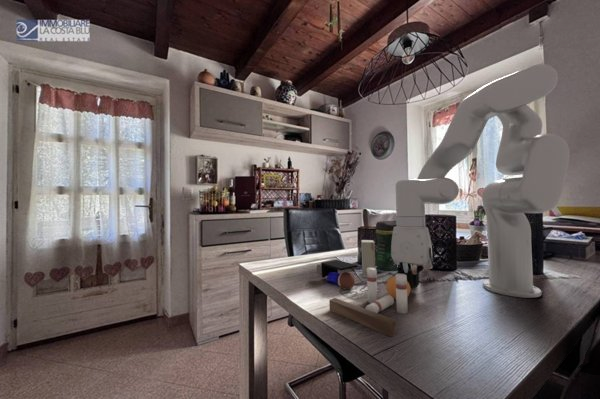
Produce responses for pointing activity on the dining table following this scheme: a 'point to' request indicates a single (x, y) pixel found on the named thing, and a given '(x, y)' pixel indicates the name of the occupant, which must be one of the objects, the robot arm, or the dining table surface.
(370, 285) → the pin
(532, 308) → the dining table surface
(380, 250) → the coffee jar
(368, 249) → the skincare box
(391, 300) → the front pin
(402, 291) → the pin
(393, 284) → the ball
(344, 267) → the figurine character
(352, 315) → the wooden bar
